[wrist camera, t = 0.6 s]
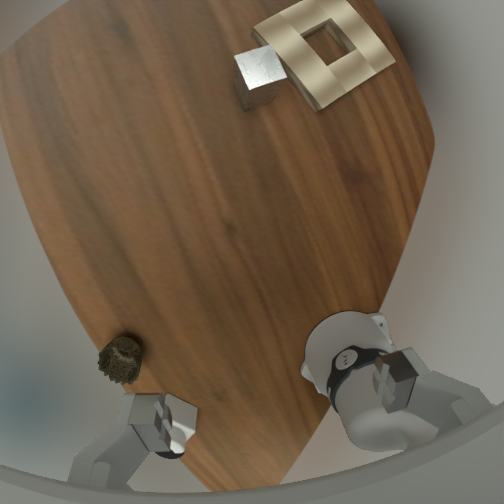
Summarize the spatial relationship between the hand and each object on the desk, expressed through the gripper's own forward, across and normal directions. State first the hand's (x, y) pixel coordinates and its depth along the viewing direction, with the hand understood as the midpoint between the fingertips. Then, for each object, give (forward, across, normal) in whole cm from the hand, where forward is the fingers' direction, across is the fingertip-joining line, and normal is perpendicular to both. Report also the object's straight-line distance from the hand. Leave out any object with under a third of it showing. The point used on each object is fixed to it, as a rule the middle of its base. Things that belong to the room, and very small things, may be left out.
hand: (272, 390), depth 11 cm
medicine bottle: (+35, -18, -41) cm, 57 cm away
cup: (+37, -22, -24) cm, 49 cm away
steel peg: (+40, +5, +14) cm, 43 cm away
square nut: (+41, +17, +22) cm, 49 cm away
